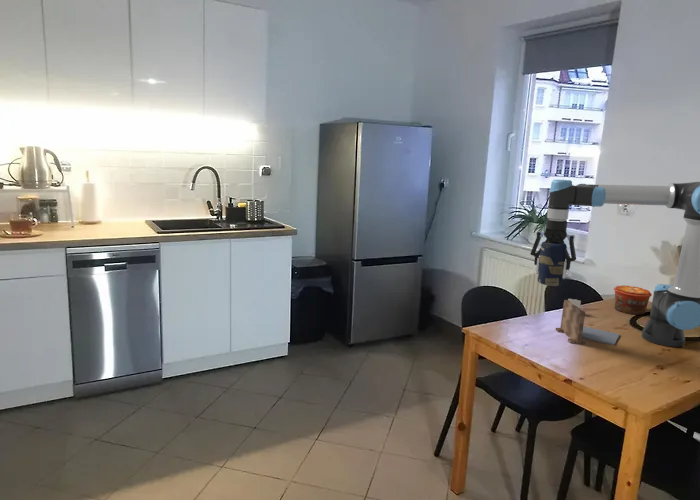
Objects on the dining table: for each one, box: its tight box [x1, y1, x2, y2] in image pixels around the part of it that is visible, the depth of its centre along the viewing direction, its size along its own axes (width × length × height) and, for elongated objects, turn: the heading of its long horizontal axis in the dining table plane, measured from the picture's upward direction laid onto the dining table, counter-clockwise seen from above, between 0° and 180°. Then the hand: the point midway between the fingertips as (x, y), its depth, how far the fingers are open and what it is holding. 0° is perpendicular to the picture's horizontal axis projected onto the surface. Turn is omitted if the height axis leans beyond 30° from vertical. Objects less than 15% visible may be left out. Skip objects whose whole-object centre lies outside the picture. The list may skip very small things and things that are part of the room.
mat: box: [582, 325, 620, 346], centre depth 208 cm, size 14×14×1 cm
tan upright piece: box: [555, 299, 587, 345], centre depth 205 cm, size 16×6×13 cm, turn 0°
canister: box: [537, 241, 568, 287], centre depth 201 cm, size 10×10×18 cm
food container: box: [613, 285, 653, 316], centre depth 245 cm, size 16×16×11 cm
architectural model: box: [567, 298, 584, 311], centre depth 236 cm, size 3×7×7 cm, turn 59°
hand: (550, 275), depth 202 cm, fingers closed on canister, 9 cm apart
